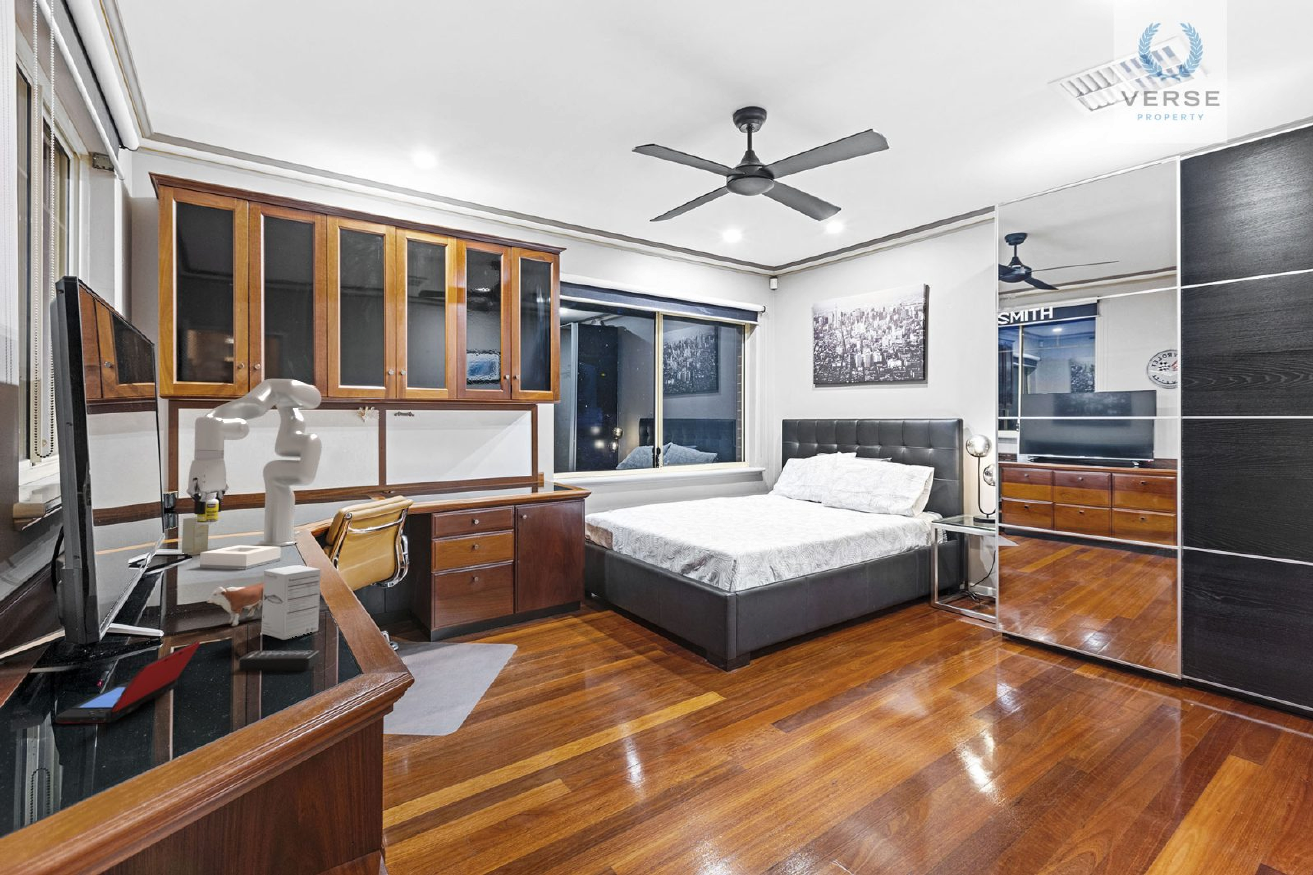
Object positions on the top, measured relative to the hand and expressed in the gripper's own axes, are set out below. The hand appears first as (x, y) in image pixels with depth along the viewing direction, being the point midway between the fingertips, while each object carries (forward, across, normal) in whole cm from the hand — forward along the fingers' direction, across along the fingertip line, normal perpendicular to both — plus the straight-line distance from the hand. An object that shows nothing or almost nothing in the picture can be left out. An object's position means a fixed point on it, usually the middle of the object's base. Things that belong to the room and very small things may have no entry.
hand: (207, 512), depth 190 cm
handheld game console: (+13, +100, +76) cm, 126 cm away
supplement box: (+14, +66, +75) cm, 101 cm away
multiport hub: (+14, +83, +86) cm, 120 cm away
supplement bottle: (+4, 0, 0) cm, 4 cm away
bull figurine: (+14, +60, +60) cm, 86 cm away
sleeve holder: (+15, +3, +14) cm, 21 cm away
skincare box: (+16, -11, -14) cm, 24 cm away
